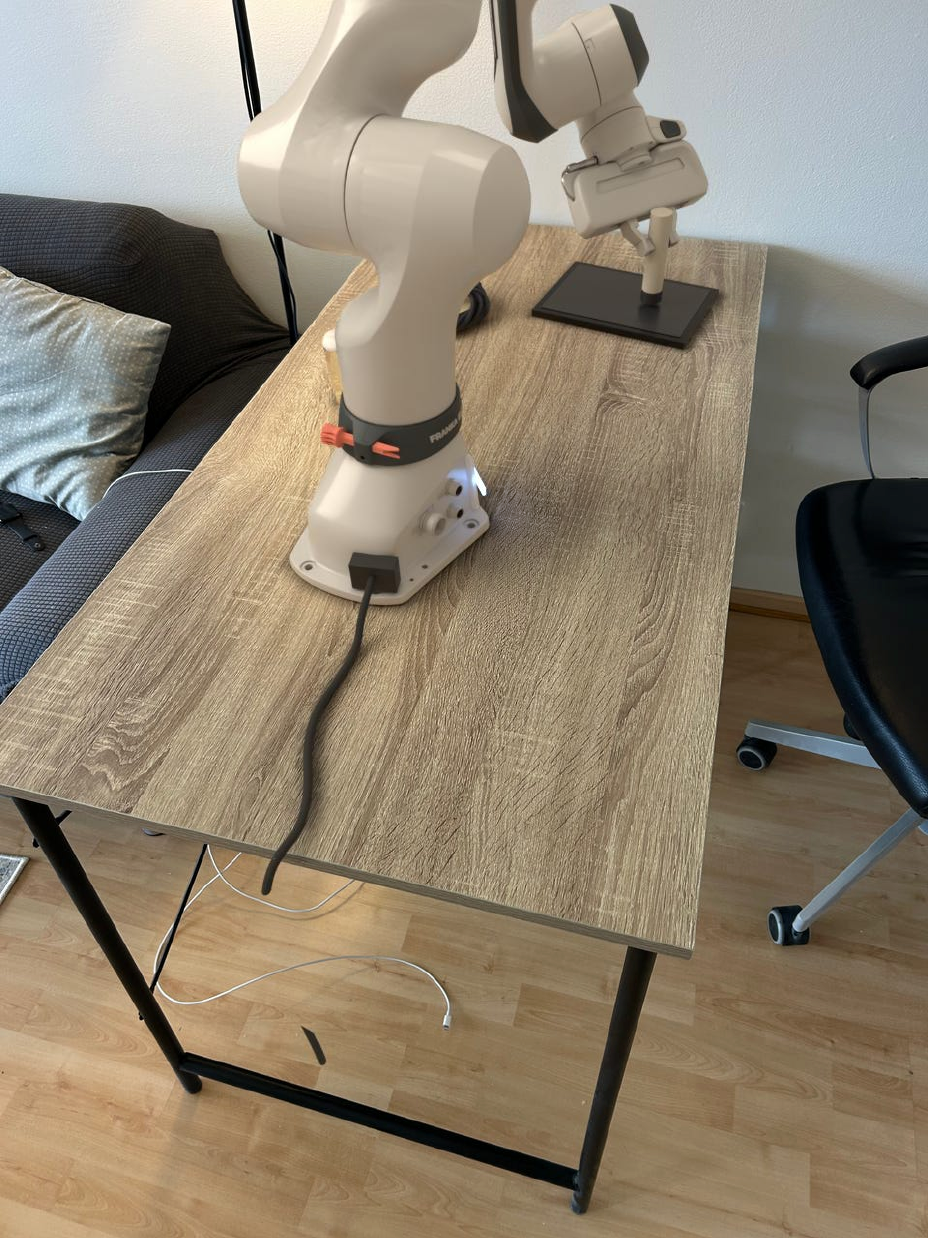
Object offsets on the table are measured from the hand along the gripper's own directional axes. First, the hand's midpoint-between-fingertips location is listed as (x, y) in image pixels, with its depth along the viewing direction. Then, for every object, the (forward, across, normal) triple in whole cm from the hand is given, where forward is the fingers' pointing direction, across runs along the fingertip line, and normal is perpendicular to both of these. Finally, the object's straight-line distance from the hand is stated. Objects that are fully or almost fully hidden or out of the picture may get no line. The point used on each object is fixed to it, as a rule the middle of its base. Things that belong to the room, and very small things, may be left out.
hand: (660, 249), depth 119 cm
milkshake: (+3, -44, +10) cm, 46 cm away
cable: (-6, -26, +18) cm, 32 cm away
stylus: (+5, 0, +6) cm, 7 cm away
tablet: (+4, -2, +9) cm, 10 cm away
